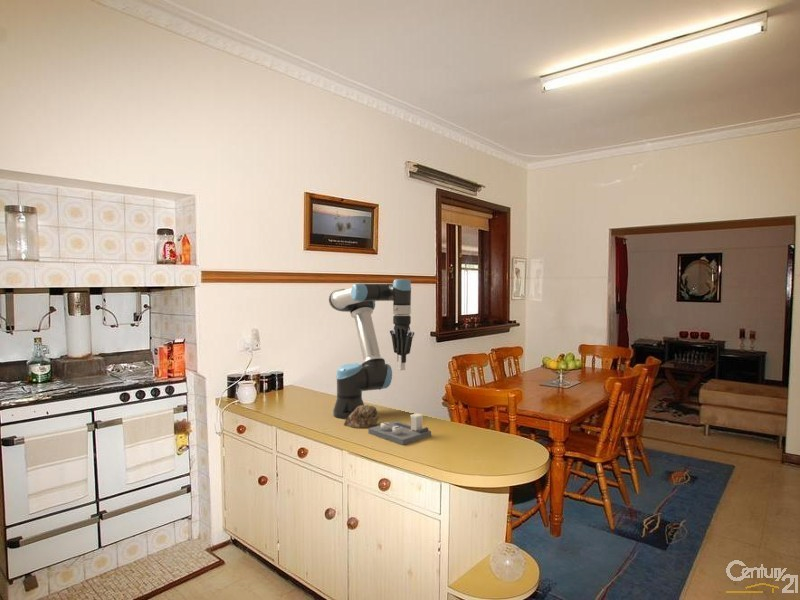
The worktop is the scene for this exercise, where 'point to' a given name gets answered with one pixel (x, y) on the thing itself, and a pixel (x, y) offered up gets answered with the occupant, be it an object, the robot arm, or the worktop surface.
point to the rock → (362, 417)
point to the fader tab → (416, 421)
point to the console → (399, 432)
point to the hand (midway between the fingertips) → (401, 369)
